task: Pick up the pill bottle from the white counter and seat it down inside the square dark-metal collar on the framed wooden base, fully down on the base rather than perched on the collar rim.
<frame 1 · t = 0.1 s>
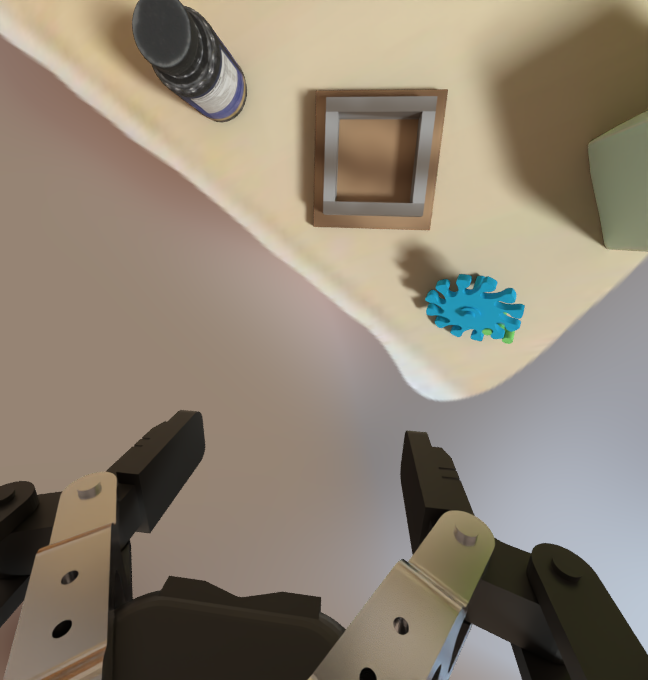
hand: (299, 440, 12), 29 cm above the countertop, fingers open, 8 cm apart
gear: (464, 305, 39), on the countertop
framed wooden base: (374, 165, 35), on the countertop
planter: (622, 158, 32), on the countertop
pill bottle: (222, 91, 34), on the countertop
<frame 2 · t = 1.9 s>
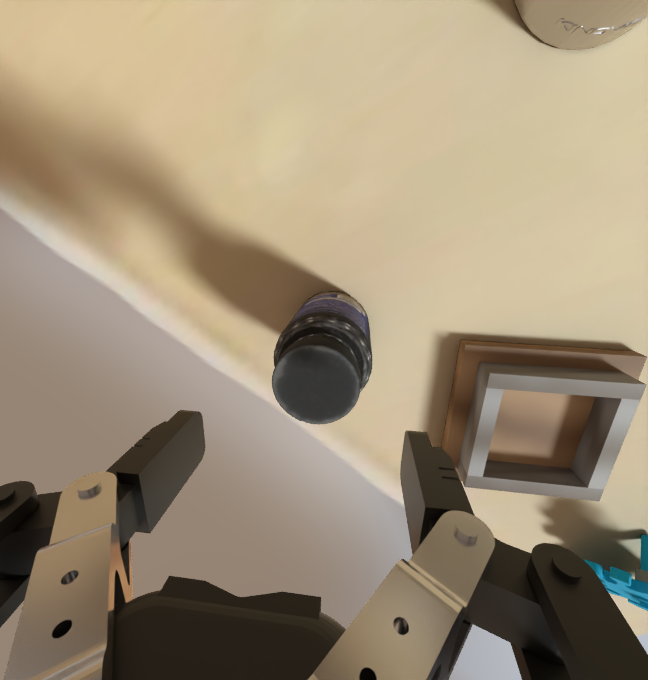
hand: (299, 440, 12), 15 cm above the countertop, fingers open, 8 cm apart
gear: (617, 555, 31), on the countertop
framed wooden base: (525, 416, 27), on the countertop
pill bottle: (333, 325, 27), on the countertop
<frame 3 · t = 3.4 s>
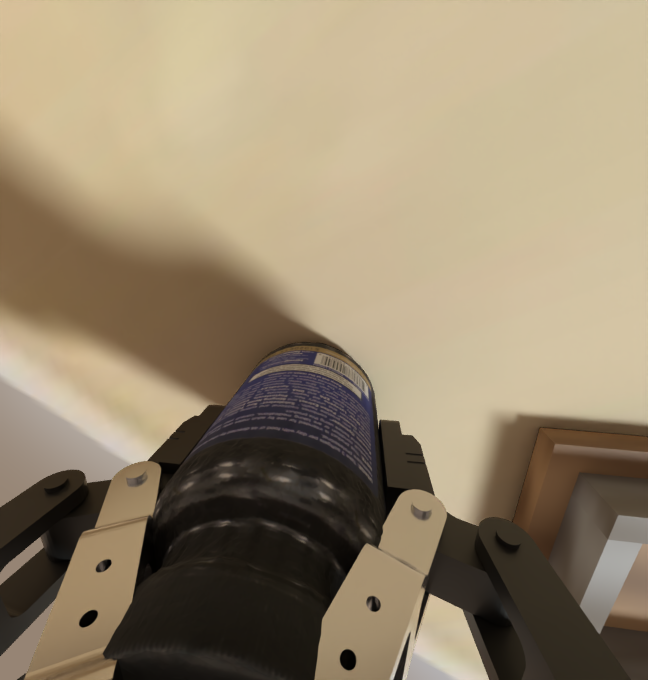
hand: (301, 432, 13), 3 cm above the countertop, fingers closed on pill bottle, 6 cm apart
framed wooden base: (644, 550, 16), on the countertop
pill bottle: (313, 396, 16), on the countertop, touching gripper
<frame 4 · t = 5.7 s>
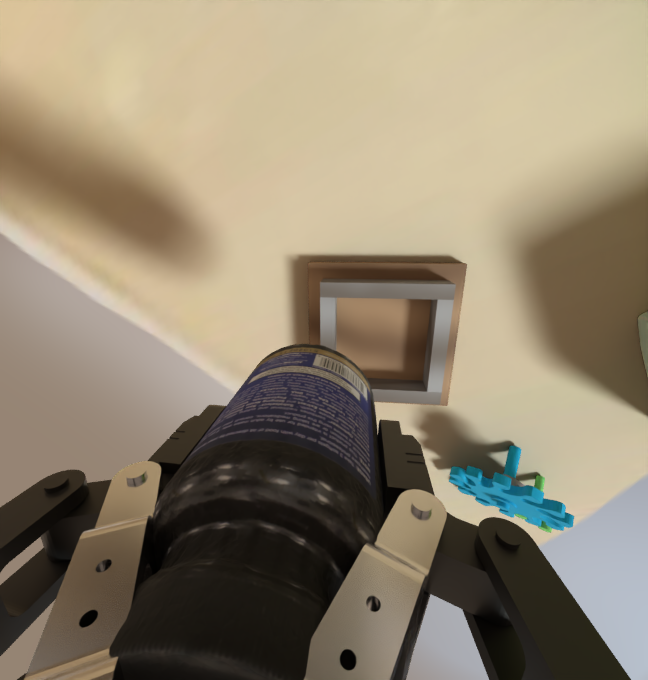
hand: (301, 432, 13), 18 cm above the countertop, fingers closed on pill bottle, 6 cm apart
gear: (492, 469, 33), on the countertop
framed wooden base: (380, 333, 30), on the countertop
pill bottle: (312, 397, 16), point 15 cm above the countertop, touching gripper
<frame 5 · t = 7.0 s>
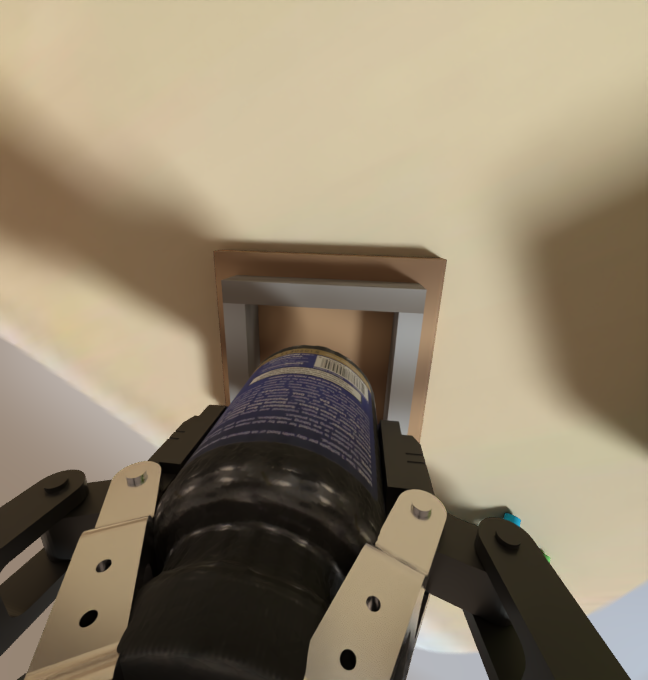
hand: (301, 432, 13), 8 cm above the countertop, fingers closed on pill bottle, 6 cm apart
framed wooden base: (324, 356, 21), on the countertop
pill bottle: (313, 398, 16), point 6 cm above the countertop, touching gripper
when the fingers open (5 cm above the countertop, at t = 8.1 s): pill bottle drops 1 cm, resting on framed wooden base.
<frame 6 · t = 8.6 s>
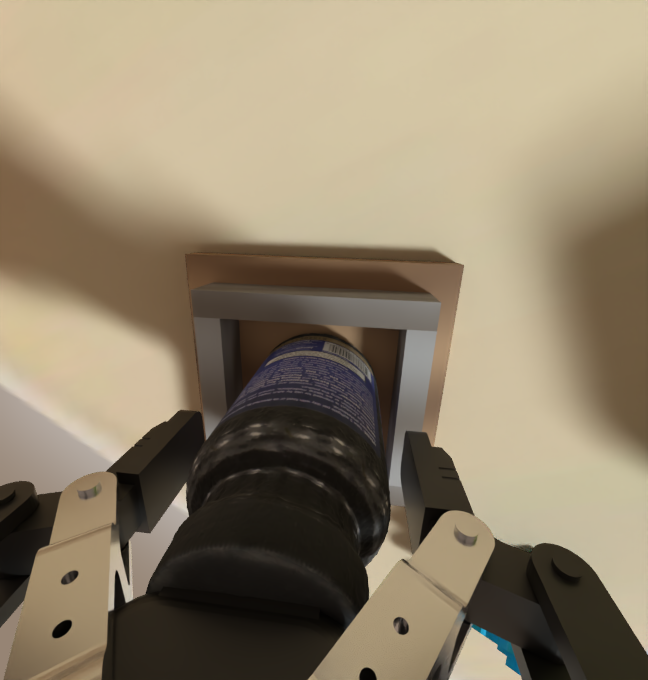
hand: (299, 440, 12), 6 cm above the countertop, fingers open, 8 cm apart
gear: (498, 580, 22), on the countertop
framed wooden base: (318, 376, 18), on the countertop
pill bottle: (319, 383, 17), point 1 cm above the countertop, touching framed wooden base
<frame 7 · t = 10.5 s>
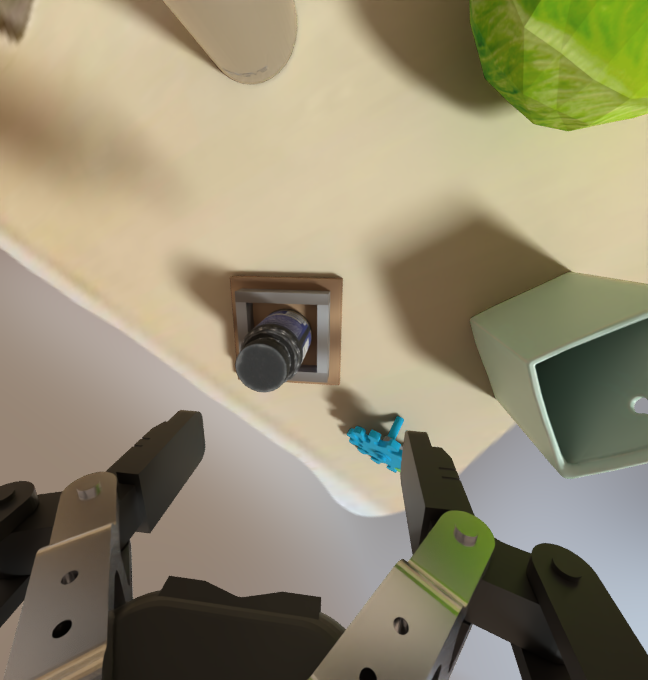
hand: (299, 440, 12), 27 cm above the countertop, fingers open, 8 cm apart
gear: (385, 435, 43), on the countertop
lettuce: (568, 38, 28), on the countertop
framed wooden base: (288, 330, 39), on the countertop
planter: (501, 329, 37), on the countertop
pill bottle: (288, 332, 38), point 1 cm above the countertop, touching framed wooden base
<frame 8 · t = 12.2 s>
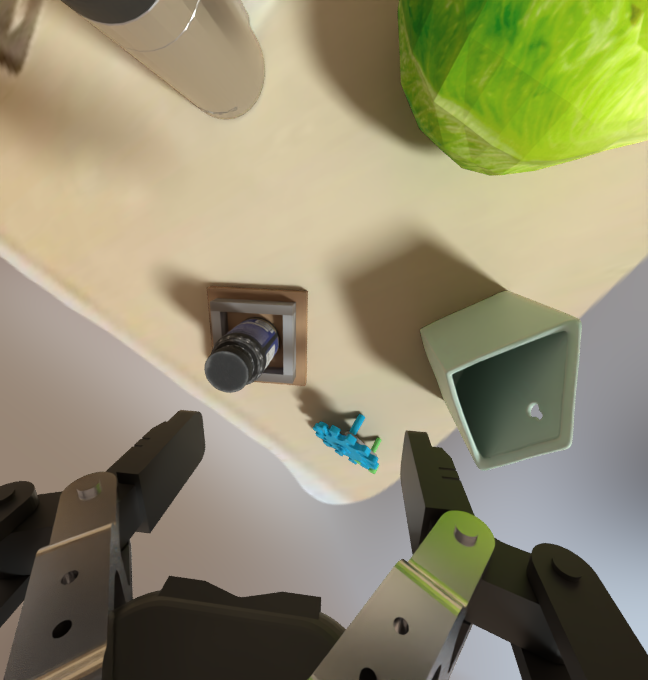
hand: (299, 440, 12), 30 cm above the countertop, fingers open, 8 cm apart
gear: (349, 431, 47), on the countertop
lettuce: (499, 90, 33), on the countertop
framed wooden base: (260, 335, 44), on the countertop
planter: (448, 339, 41), on the countertop
pill bottle: (259, 337, 43), point 1 cm above the countertop, touching framed wooden base
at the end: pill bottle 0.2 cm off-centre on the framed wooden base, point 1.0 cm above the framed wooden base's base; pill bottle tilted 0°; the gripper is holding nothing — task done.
